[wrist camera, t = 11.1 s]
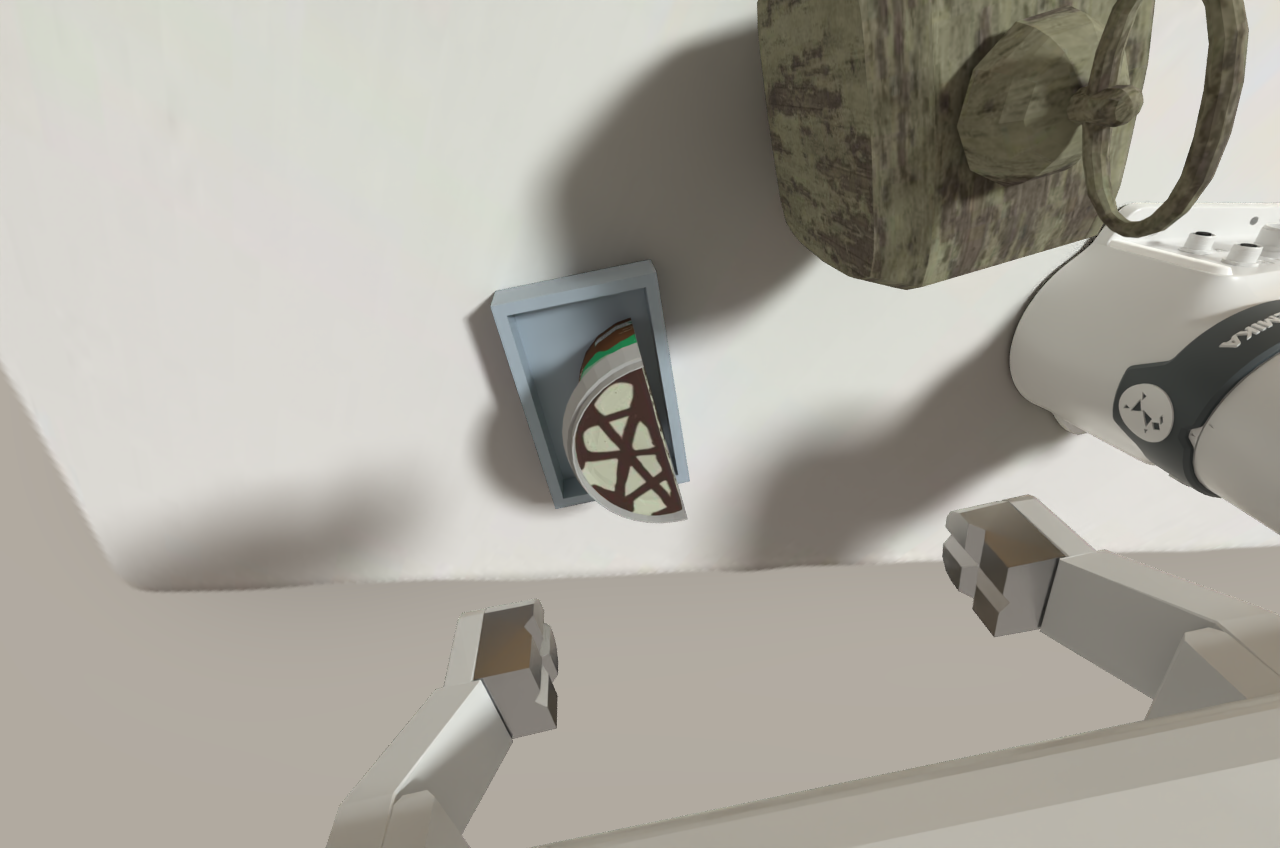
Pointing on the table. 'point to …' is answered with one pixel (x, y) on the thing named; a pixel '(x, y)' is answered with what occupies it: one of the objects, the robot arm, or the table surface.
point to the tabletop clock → (971, 126)
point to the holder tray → (582, 356)
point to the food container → (620, 433)
